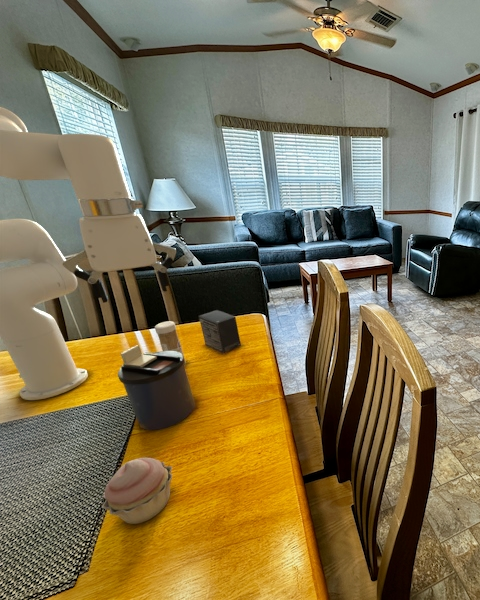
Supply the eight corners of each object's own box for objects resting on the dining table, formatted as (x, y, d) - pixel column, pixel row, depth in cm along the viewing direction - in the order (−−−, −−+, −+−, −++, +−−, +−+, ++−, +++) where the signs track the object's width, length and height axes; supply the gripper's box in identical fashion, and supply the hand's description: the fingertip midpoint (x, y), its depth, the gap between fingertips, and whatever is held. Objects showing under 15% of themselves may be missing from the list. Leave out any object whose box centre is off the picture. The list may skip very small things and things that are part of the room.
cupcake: (124, 491, 57) (104, 448, 53) (185, 475, 60) (170, 433, 57) (100, 544, 49) (75, 498, 45) (172, 522, 52) (154, 477, 48)
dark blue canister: (123, 427, 72) (101, 373, 67) (168, 393, 82) (152, 345, 77) (167, 434, 70) (148, 379, 64) (208, 399, 80) (194, 350, 75)
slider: (123, 366, 70) (119, 353, 69) (141, 356, 74) (136, 344, 73) (140, 368, 69) (136, 356, 68) (157, 358, 73) (153, 346, 72)
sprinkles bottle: (186, 367, 93) (174, 325, 88) (167, 372, 91) (154, 329, 86) (186, 360, 97) (174, 319, 92) (167, 364, 95) (154, 323, 90)
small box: (243, 345, 105) (236, 315, 101) (223, 354, 100) (216, 323, 96) (223, 337, 110) (217, 308, 106) (204, 345, 105) (196, 315, 101)
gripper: (162, 204, 68) (182, 281, 75) (45, 210, 58) (80, 299, 64) (166, 207, 63) (188, 290, 69) (38, 214, 53) (77, 311, 59)
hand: (136, 294), depth 67 cm, fingers open, 9 cm apart
